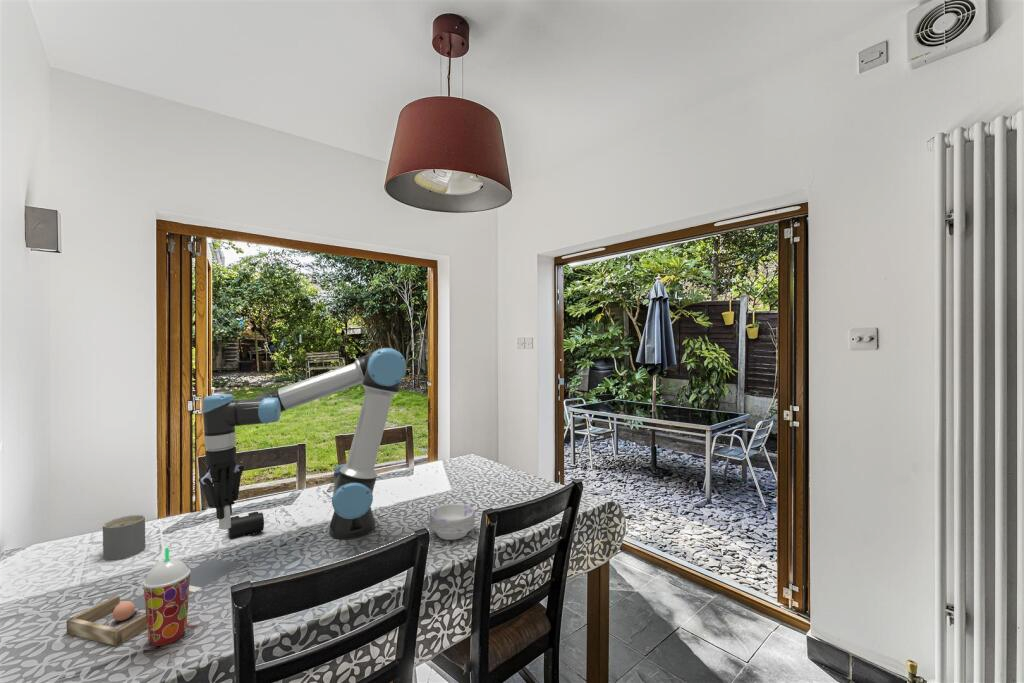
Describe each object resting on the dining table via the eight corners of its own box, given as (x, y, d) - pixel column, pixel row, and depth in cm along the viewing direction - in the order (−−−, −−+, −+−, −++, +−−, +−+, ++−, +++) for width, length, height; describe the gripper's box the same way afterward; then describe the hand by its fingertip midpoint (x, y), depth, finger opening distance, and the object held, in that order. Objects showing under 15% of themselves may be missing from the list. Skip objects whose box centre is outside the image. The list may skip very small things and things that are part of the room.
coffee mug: (147, 552, 139) (147, 520, 139) (104, 564, 131) (104, 530, 131) (141, 539, 148) (140, 509, 148) (100, 549, 141) (100, 518, 141)
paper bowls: (484, 533, 150) (484, 510, 150) (449, 549, 139) (448, 524, 139) (455, 521, 160) (455, 499, 160) (420, 534, 149) (420, 511, 149)
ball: (121, 626, 103) (139, 614, 106) (120, 609, 102) (138, 598, 106) (108, 623, 104) (127, 611, 107) (107, 606, 103) (126, 596, 107)
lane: (244, 567, 129) (244, 563, 129) (158, 616, 106) (158, 612, 106) (212, 561, 132) (212, 558, 132) (122, 608, 109) (122, 604, 109)
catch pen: (164, 618, 105) (164, 605, 105) (116, 646, 96) (116, 632, 96) (116, 607, 110) (116, 595, 110) (66, 633, 100) (66, 620, 100)
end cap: (229, 543, 144) (229, 523, 144) (226, 536, 150) (226, 516, 150) (264, 534, 151) (264, 514, 151) (260, 528, 156) (259, 508, 156)
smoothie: (161, 626, 102) (160, 540, 102) (199, 624, 103) (198, 538, 103) (133, 652, 94) (132, 558, 94) (175, 649, 94) (174, 556, 94)
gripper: (230, 442, 136) (234, 518, 136) (189, 453, 123) (193, 537, 123) (249, 442, 134) (254, 519, 134) (209, 454, 121) (214, 539, 121)
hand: (225, 528), depth 129 cm, fingers closed
